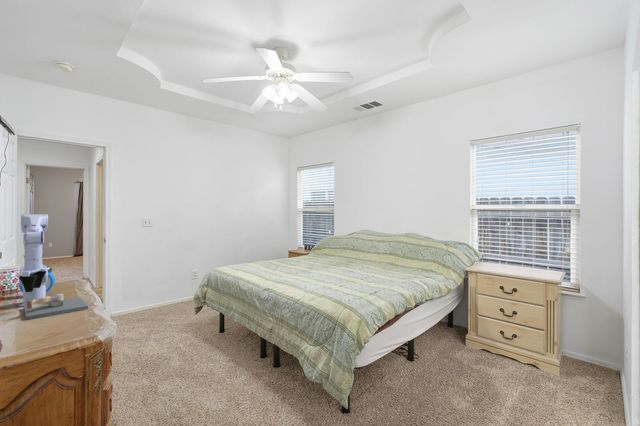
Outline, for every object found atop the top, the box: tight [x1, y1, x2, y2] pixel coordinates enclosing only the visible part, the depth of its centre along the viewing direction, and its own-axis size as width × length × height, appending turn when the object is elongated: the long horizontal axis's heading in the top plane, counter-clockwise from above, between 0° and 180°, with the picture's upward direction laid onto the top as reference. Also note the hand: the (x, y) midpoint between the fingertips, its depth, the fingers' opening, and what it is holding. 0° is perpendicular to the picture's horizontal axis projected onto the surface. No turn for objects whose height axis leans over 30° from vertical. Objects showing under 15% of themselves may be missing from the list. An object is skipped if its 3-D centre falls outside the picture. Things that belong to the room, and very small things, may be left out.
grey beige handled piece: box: [27, 293, 64, 309], centre depth 132 cm, size 13×5×4 cm, turn 161°
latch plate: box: [23, 296, 89, 321], centre depth 136 cm, size 20×20×2 cm
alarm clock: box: [18, 265, 56, 294], centre depth 157 cm, size 13×6×15 cm, turn 126°
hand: (33, 289), depth 132 cm, fingers open, 7 cm apart
